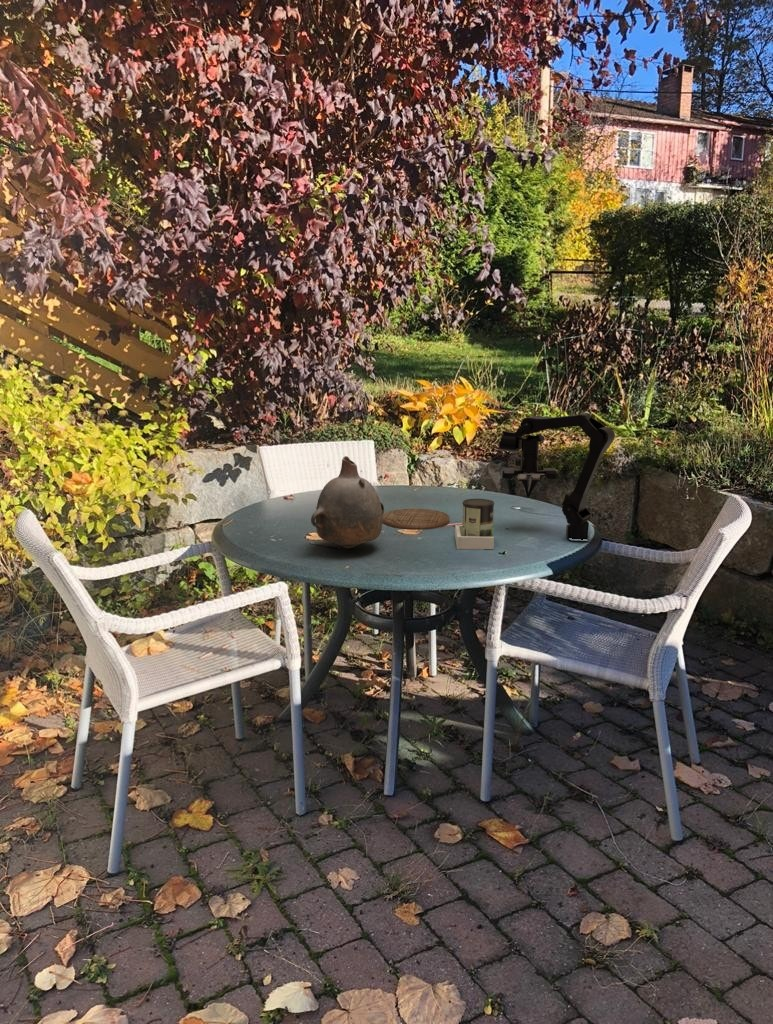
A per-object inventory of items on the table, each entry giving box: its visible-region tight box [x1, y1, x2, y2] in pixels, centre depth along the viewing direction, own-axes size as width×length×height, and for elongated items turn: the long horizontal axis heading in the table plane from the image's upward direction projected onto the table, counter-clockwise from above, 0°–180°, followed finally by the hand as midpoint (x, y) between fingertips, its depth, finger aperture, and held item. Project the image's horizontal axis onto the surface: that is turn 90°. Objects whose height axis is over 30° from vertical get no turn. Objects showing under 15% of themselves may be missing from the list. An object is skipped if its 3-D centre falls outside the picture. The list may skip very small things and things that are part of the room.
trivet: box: [382, 508, 450, 531], centre depth 292 cm, size 25×25×2 cm
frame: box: [454, 524, 495, 550], centre depth 264 cm, size 12×15×4 cm
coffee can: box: [462, 498, 495, 537], centre depth 262 cm, size 10×10×14 cm
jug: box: [310, 455, 385, 550], centre depth 254 cm, size 24×21×30 cm
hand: (527, 497), depth 276 cm, fingers closed
